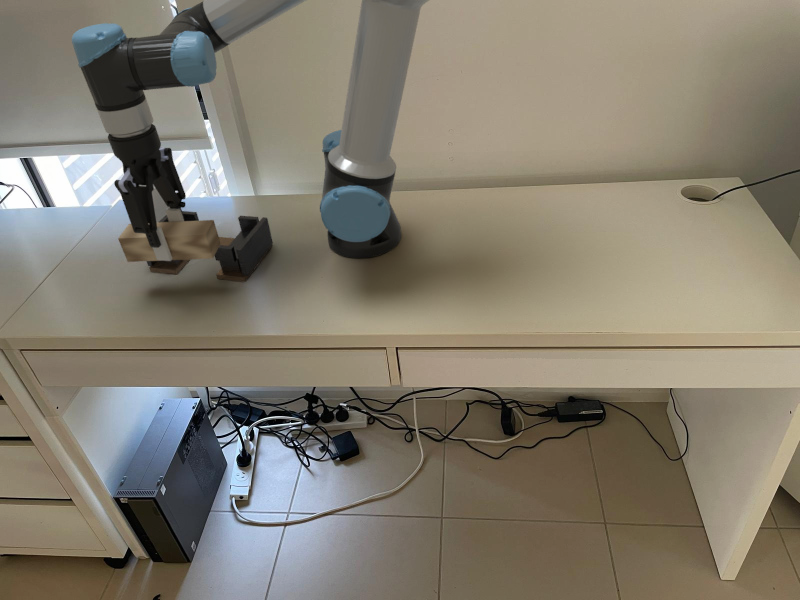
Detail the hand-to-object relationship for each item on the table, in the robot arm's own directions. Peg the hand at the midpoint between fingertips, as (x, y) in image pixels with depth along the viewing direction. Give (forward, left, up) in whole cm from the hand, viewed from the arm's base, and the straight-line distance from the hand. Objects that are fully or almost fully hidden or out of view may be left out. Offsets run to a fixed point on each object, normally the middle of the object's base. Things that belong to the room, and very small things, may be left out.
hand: (174, 249), depth 117 cm
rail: (0, 0, -1) cm, 1 cm away
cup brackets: (+1, -11, -9) cm, 14 cm away
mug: (+19, -21, -9) cm, 30 cm away
